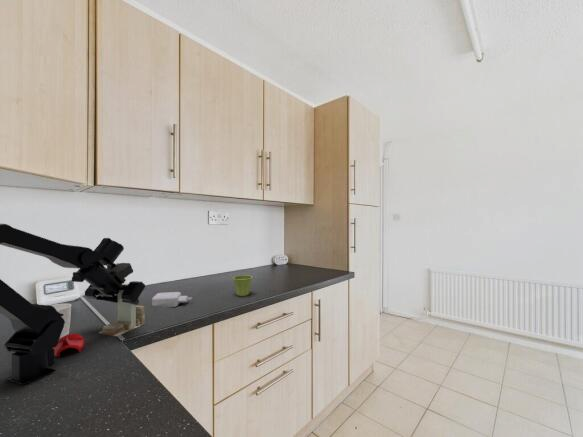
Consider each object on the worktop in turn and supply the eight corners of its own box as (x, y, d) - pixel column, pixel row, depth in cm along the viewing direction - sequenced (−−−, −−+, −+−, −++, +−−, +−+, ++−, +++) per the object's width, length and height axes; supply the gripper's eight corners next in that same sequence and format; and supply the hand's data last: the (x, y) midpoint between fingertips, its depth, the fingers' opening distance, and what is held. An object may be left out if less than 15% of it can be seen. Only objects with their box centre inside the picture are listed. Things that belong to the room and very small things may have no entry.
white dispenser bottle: (189, 307, 112) (151, 309, 109) (193, 300, 121) (158, 302, 118) (189, 296, 112) (151, 298, 109) (193, 290, 121) (159, 292, 118)
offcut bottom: (113, 335, 81) (113, 331, 81) (101, 333, 83) (101, 329, 83) (125, 330, 85) (125, 326, 85) (113, 328, 86) (113, 324, 86)
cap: (89, 344, 71) (89, 326, 75) (61, 344, 67) (63, 325, 71) (75, 365, 72) (76, 346, 76) (47, 366, 68) (50, 347, 72)
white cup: (34, 348, 75) (34, 313, 75) (39, 338, 82) (39, 306, 82) (69, 341, 80) (70, 308, 80) (72, 332, 86) (72, 301, 86)
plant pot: (254, 296, 127) (254, 278, 127) (234, 298, 124) (234, 279, 124) (250, 291, 136) (250, 274, 136) (231, 293, 132) (231, 276, 132)
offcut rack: (116, 340, 80) (116, 316, 81) (97, 336, 83) (97, 313, 83) (144, 327, 90) (144, 306, 90) (127, 324, 93) (127, 304, 93)
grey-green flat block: (131, 328, 86) (131, 285, 86) (117, 326, 88) (117, 284, 88) (135, 326, 88) (135, 284, 88) (122, 324, 90) (122, 283, 90)
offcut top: (113, 331, 81) (113, 327, 81) (103, 329, 83) (103, 326, 83) (123, 326, 85) (123, 323, 85) (113, 325, 86) (113, 322, 86)
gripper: (140, 256, 82) (165, 283, 93) (93, 255, 87) (122, 281, 97) (118, 288, 75) (148, 313, 85) (68, 284, 79) (102, 309, 90)
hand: (130, 302), depth 90 cm, fingers closed on grey-green flat block, 6 cm apart
